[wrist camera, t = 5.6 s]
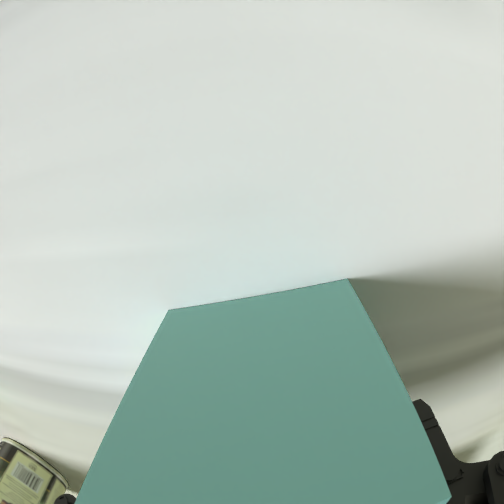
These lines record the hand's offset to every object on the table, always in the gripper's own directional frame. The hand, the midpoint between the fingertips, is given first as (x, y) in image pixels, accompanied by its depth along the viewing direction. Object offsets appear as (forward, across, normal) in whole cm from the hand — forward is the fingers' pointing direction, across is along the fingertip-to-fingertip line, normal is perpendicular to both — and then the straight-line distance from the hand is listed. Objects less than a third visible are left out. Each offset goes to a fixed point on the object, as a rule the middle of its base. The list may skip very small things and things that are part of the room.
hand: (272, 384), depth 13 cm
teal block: (+1, 0, 0) cm, 1 cm away
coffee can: (+2, -32, -16) cm, 36 cm away
